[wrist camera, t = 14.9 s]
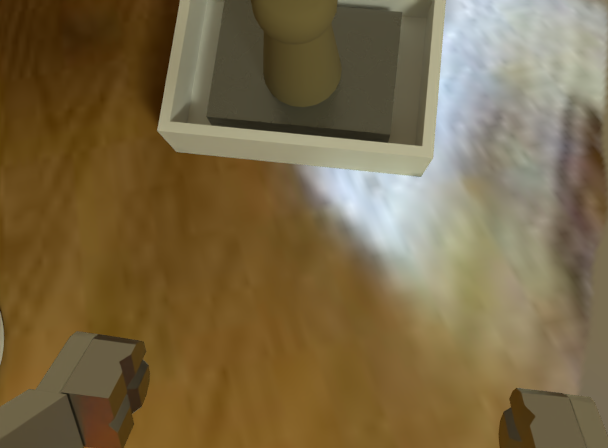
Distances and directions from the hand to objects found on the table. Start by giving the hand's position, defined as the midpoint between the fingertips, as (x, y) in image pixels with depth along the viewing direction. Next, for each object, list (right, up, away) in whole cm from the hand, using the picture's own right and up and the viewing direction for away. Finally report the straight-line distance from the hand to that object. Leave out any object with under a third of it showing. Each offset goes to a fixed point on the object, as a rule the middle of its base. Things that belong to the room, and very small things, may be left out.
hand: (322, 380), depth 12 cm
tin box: (0, +15, +32) cm, 35 cm away
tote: (0, +15, +33) cm, 36 cm away
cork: (-1, +15, +29) cm, 33 cm away
